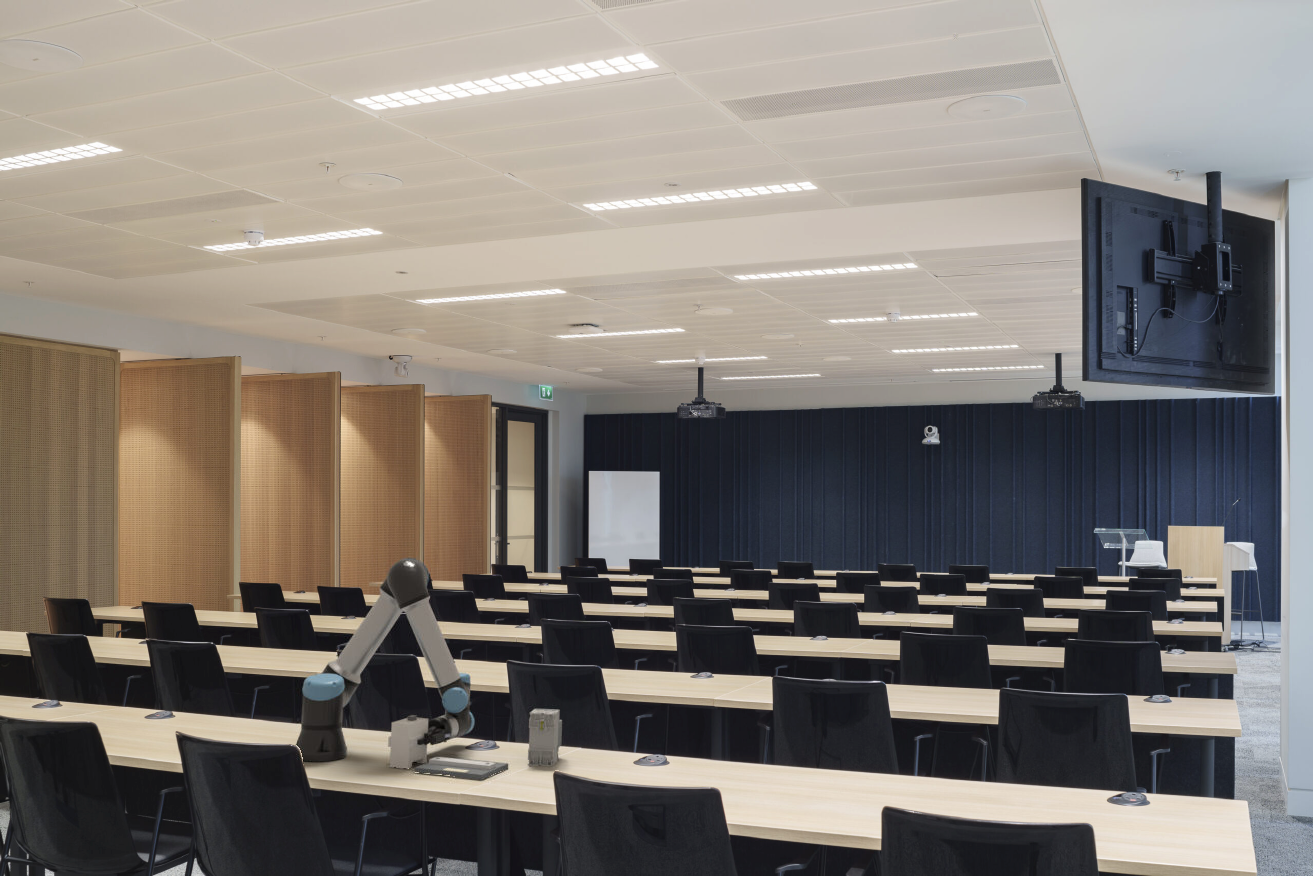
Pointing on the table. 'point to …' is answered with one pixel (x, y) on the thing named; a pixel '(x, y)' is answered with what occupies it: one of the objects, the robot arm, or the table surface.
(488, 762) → the panel
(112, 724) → the table surface
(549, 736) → the circuit breaker
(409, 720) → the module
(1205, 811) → the table surface
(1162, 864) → the table surface
